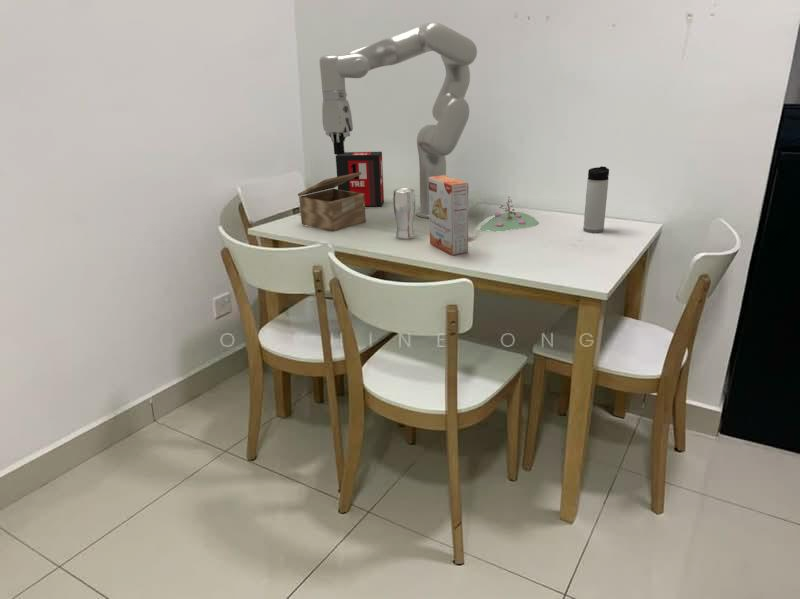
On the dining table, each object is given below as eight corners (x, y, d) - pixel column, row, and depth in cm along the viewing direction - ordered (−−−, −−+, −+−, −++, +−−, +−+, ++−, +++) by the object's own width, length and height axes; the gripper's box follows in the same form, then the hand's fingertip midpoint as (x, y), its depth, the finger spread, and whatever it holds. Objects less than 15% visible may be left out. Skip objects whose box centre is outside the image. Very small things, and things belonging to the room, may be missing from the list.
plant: (515, 238, 193) (516, 210, 190) (459, 229, 205) (459, 203, 201) (547, 220, 212) (549, 195, 208) (494, 213, 223) (495, 189, 220)
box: (366, 221, 215) (364, 193, 212) (332, 231, 205) (330, 202, 201) (335, 215, 226) (333, 188, 222) (301, 224, 215) (299, 196, 211)
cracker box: (428, 244, 188) (427, 176, 180) (445, 241, 190) (445, 174, 182) (450, 256, 176) (450, 184, 168) (468, 253, 178) (469, 181, 171)
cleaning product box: (339, 208, 237) (335, 155, 229) (343, 202, 245) (340, 152, 238) (381, 207, 235) (378, 155, 228) (384, 202, 243) (381, 151, 236)
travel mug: (607, 229, 196) (613, 167, 189) (597, 234, 192) (603, 170, 185) (589, 226, 200) (594, 165, 193) (579, 231, 196) (584, 168, 189)
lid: (361, 174, 210) (360, 171, 210) (325, 181, 199) (325, 179, 199) (333, 188, 222) (332, 185, 222) (298, 196, 211) (297, 194, 211)
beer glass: (391, 238, 195) (389, 192, 189) (398, 233, 201) (397, 187, 195) (411, 240, 192) (410, 193, 187) (418, 234, 198) (418, 188, 193)
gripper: (358, 95, 194) (363, 153, 201) (327, 95, 203) (332, 150, 210) (341, 97, 189) (346, 157, 196) (310, 97, 198) (316, 154, 205)
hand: (339, 153), depth 203 cm, fingers closed
